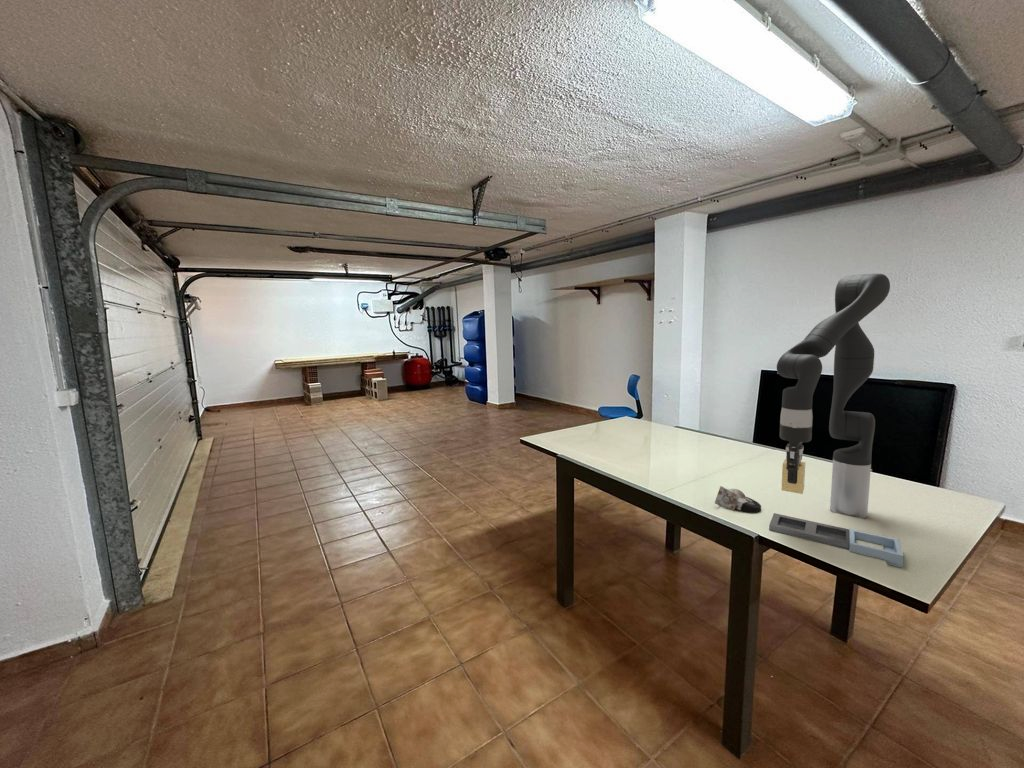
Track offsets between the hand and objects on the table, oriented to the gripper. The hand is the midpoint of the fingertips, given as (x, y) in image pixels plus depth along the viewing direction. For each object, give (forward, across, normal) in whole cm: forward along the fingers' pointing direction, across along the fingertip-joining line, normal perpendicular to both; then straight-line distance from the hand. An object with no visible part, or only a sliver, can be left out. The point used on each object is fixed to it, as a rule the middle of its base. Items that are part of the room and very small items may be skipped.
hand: (793, 479), depth 115 cm
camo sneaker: (+16, -8, -15) cm, 23 cm away
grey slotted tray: (+16, 0, +4) cm, 16 cm away
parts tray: (+16, +1, +18) cm, 24 cm away
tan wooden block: (+3, 0, 0) cm, 3 cm away
